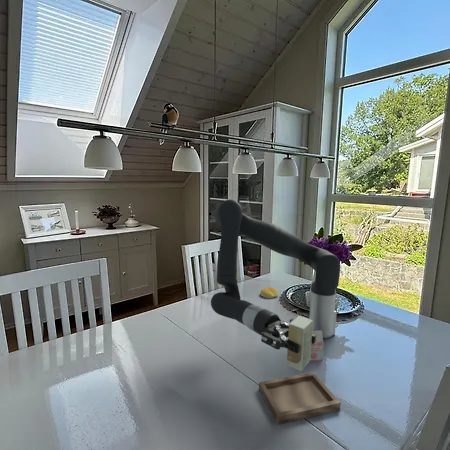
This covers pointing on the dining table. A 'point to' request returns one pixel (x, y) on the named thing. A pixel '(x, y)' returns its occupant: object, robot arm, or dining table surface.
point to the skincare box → (300, 342)
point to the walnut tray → (298, 397)
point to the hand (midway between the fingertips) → (307, 344)
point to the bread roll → (269, 293)
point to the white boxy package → (317, 347)
